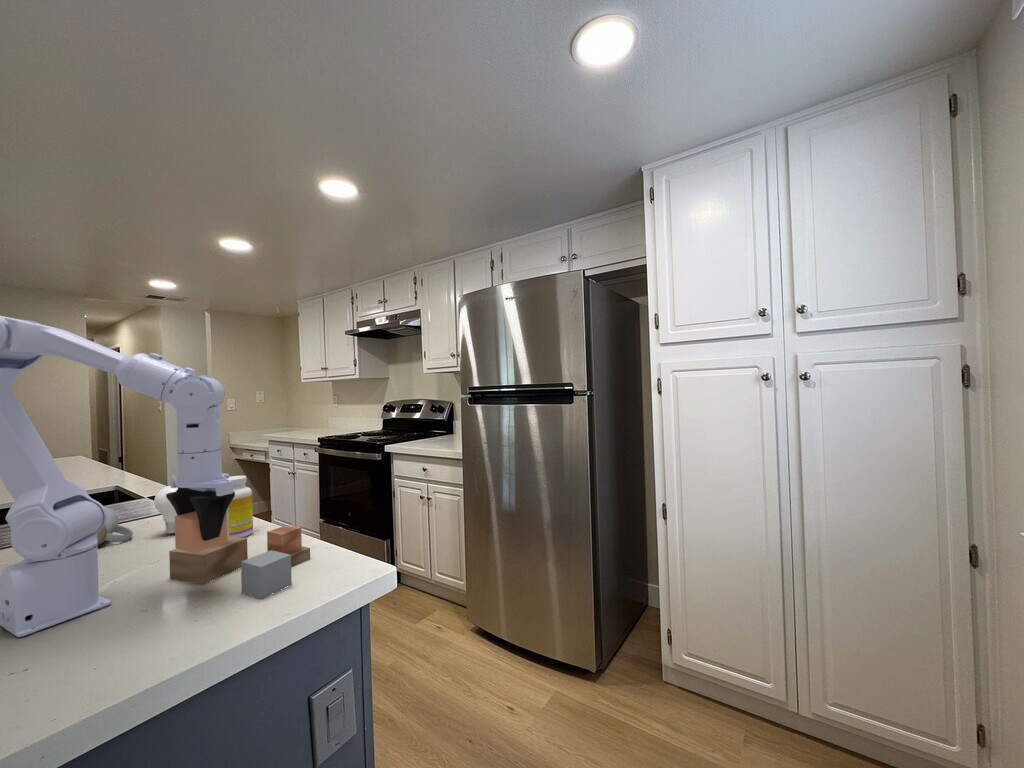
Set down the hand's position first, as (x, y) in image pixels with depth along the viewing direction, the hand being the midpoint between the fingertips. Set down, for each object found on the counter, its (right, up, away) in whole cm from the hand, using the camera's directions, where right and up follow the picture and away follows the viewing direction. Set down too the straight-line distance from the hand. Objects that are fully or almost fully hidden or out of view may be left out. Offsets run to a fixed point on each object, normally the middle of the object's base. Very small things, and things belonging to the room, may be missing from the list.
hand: (201, 536), depth 67 cm
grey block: (+10, -9, 0) cm, 14 cm away
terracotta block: (0, -1, 0) cm, 1 cm away
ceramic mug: (-39, -10, +23) cm, 46 cm away
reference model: (+8, -9, +11) cm, 16 cm away
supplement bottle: (-11, -10, +26) cm, 30 cm away
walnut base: (-4, -9, +7) cm, 12 cm away
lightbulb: (-27, -10, +28) cm, 40 cm away
